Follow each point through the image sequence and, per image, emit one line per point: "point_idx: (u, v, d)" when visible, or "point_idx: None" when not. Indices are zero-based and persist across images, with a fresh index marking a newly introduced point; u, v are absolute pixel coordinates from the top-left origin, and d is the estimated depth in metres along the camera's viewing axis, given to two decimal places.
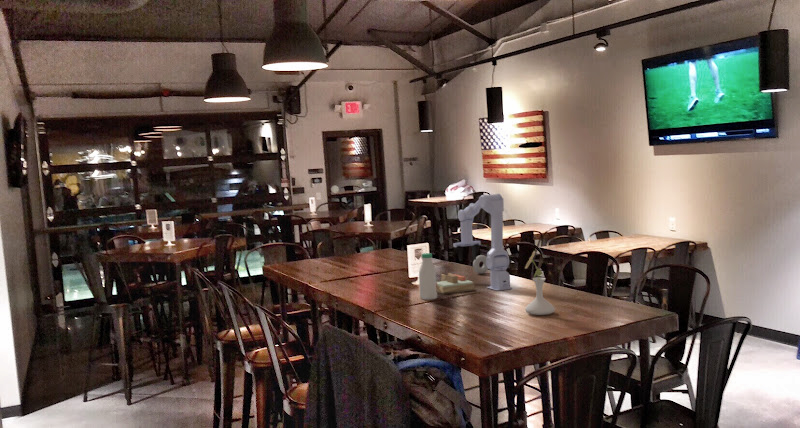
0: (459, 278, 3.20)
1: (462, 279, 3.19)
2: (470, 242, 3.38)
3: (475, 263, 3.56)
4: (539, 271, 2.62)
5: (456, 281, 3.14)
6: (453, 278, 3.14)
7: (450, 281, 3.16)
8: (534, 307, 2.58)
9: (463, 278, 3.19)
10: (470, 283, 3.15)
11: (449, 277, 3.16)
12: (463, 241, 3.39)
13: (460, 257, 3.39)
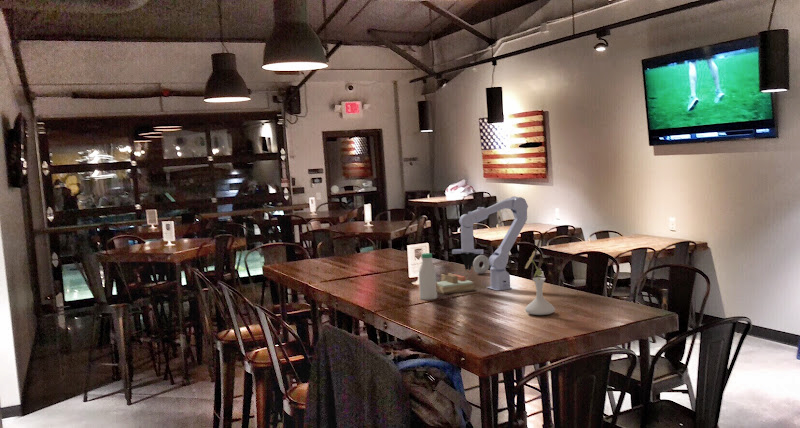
0: (459, 278, 3.20)
1: (462, 279, 3.19)
2: (466, 250, 3.11)
3: (475, 263, 3.56)
4: (539, 271, 2.62)
5: (456, 281, 3.14)
6: (453, 278, 3.14)
7: (450, 281, 3.16)
8: (534, 307, 2.58)
9: (463, 278, 3.19)
10: (470, 283, 3.15)
11: (449, 277, 3.16)
12: (461, 248, 3.13)
13: None
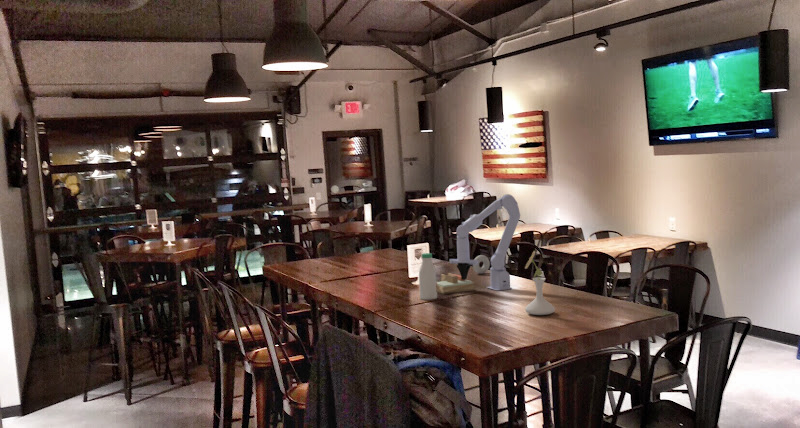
0: (459, 278, 3.21)
1: None
2: (461, 260, 3.15)
3: None
4: (539, 271, 2.62)
5: (456, 281, 3.14)
6: (453, 278, 3.14)
7: (450, 281, 3.16)
8: (534, 307, 2.58)
9: None
10: (470, 283, 3.15)
11: (449, 277, 3.16)
12: None
13: None
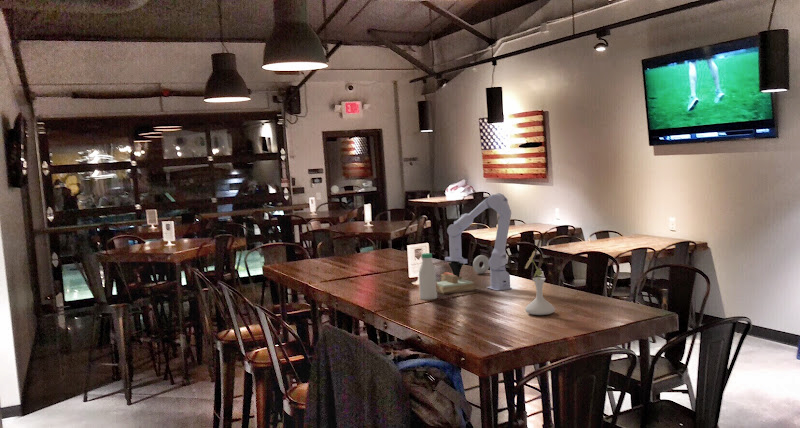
0: None
1: None
2: (451, 258, 3.23)
3: (475, 263, 3.56)
4: (539, 271, 2.62)
5: (456, 281, 3.14)
6: (453, 278, 3.14)
7: (450, 281, 3.16)
8: (534, 307, 2.58)
9: None
10: (470, 283, 3.15)
11: (449, 277, 3.16)
12: None
13: None
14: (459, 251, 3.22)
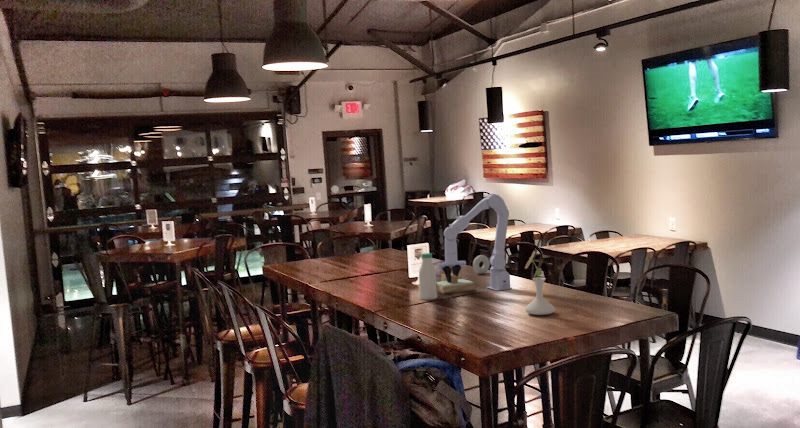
0: None
1: None
2: (455, 262, 3.14)
3: (475, 263, 3.56)
4: (539, 271, 2.62)
5: (456, 281, 3.14)
6: (453, 278, 3.14)
7: None
8: (534, 307, 2.58)
9: None
10: (470, 283, 3.15)
11: None
12: (447, 261, 3.14)
13: (448, 278, 3.16)
14: None
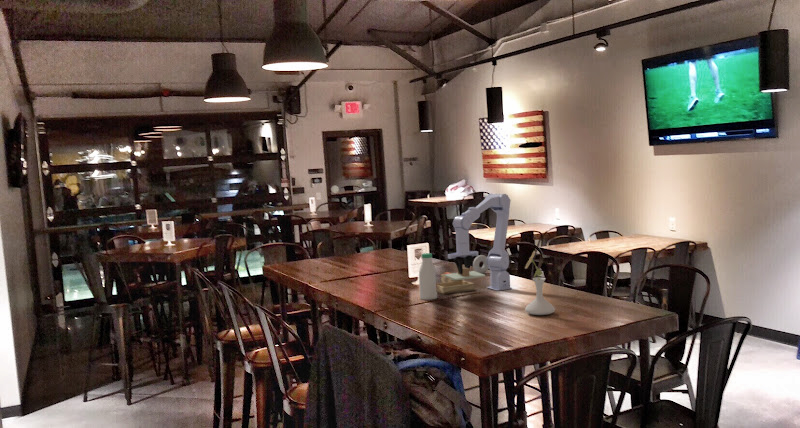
0: None
1: None
2: (467, 253, 2.99)
3: (475, 263, 3.56)
4: (539, 271, 2.62)
5: (468, 274, 3.00)
6: (465, 271, 2.99)
7: (461, 274, 3.01)
8: (534, 307, 2.58)
9: None
10: (482, 276, 3.00)
11: None
12: (459, 252, 2.99)
13: (460, 269, 3.01)
14: None
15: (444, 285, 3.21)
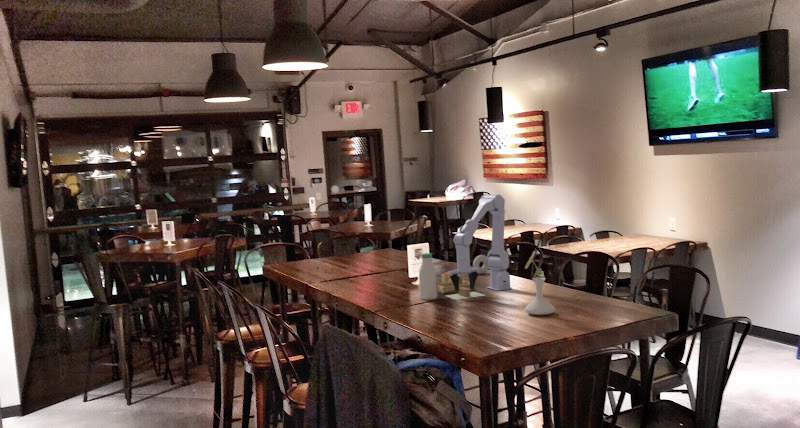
0: None
1: None
2: (467, 270, 2.99)
3: (475, 263, 3.56)
4: (539, 271, 2.62)
5: (468, 294, 3.01)
6: (465, 291, 3.00)
7: (462, 294, 3.02)
8: (534, 307, 2.58)
9: None
10: None
11: (461, 290, 3.02)
12: (459, 268, 3.00)
13: (456, 287, 3.00)
14: None
15: (444, 285, 3.21)
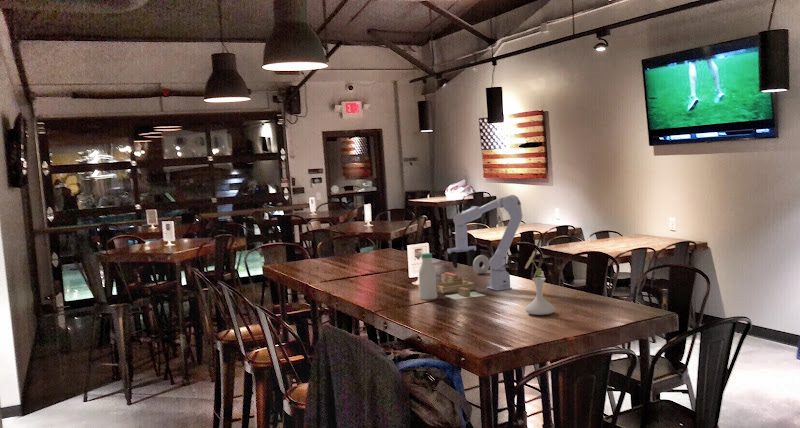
0: (451, 276, 3.27)
1: (454, 277, 3.26)
2: (465, 248, 3.19)
3: (475, 263, 3.56)
4: (539, 271, 2.62)
5: (468, 294, 3.01)
6: (465, 291, 3.00)
7: (462, 294, 3.02)
8: (534, 307, 2.58)
9: (455, 276, 3.26)
10: None
11: (461, 290, 3.02)
12: (458, 246, 3.19)
13: (454, 263, 3.20)
14: None
15: (444, 285, 3.21)
